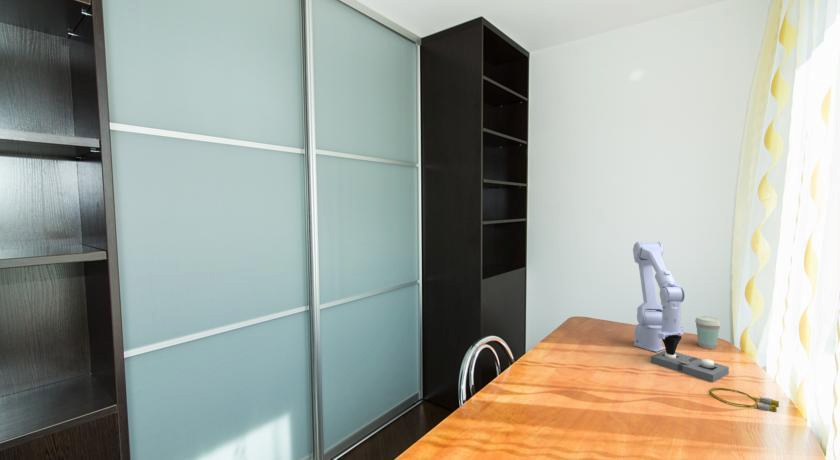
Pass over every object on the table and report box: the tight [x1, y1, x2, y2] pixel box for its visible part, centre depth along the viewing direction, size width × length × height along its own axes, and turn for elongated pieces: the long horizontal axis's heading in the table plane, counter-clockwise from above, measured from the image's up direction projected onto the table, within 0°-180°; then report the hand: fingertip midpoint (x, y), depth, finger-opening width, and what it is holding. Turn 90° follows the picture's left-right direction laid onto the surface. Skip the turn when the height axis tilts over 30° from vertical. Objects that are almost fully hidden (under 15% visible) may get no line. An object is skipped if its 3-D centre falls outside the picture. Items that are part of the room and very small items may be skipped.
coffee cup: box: [695, 315, 721, 350], centre depth 160 cm, size 8×8×12 cm
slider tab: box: [678, 353, 690, 364], centre depth 138 cm, size 3×2×3 cm
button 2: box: [700, 357, 715, 368], centre depth 134 cm, size 4×4×2 cm
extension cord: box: [709, 387, 780, 412], centre depth 116 cm, size 12×16×2 cm
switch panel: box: [650, 349, 730, 383], centre depth 139 cm, size 20×12×2 cm, turn 32°
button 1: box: [665, 352, 676, 359], centre depth 144 cm, size 4×4×2 cm
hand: (670, 354), depth 144 cm, fingers closed, pressing on button 1
